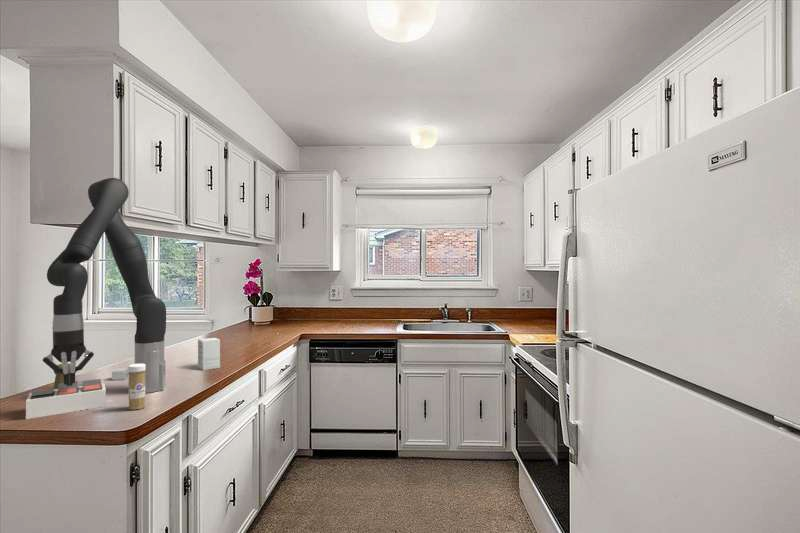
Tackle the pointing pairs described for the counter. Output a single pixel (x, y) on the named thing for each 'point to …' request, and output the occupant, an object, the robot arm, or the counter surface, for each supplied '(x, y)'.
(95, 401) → the white switch panel
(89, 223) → the robot arm
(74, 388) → the switch middle
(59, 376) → the cork
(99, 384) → the switch
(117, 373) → the usb wall charger
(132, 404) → the sprinkles bottle
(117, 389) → the counter surface
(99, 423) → the counter surface
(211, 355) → the supplement box
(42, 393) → the switch
